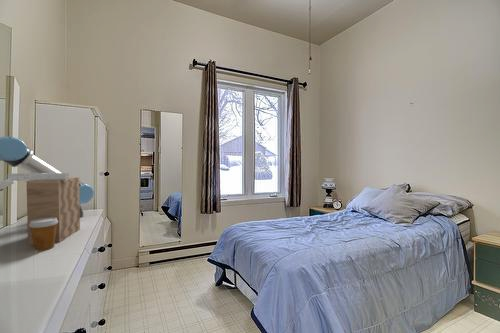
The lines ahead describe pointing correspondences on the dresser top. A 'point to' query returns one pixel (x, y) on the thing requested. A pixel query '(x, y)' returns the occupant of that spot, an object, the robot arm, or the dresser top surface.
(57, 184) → the walnut shelf
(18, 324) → the dresser top surface
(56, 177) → the steel bar
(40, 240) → the disposable coffee cup
